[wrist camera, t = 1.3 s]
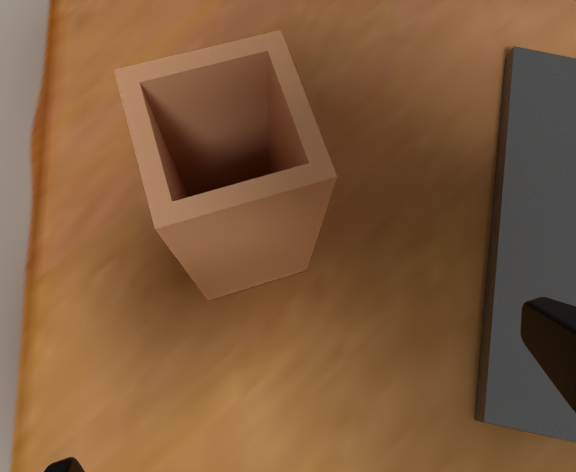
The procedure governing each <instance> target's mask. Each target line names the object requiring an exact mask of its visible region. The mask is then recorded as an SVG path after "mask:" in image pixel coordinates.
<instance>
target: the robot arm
mask: <svg viewBox="0 0 576 472" xmlns="http://www.w3.org/2000/svg"><path fill="white" fill-rule="evenodd" d="M520 333H521V338H522V341H523V343H524V344H525V346H526V347H527V349H528V350H529V351H530V353H531V354H532V355H533V357H534V358H535V360H536V361H537V362H538V364H539V365H540V366H541V368H542V369H543V370H544V372H545V373H546V375H547V376H548V377H549V379H550V380H551V381H552V383H553V384H554V386H555V387H556V388H557V390H558V391H559V392H560V394H561V395H562V396H563V398H564V399H565V400H566V402H567V403H568V404H569V406H570V407H571V408H572V409H573V410H574V412H575V413H576V306H573V305H570V304H567V303H563V302H560V301H557V300H554V299H551V298H547V297H538V298H535V299H532V300H529V301H526V302H525V303H524V304H523V306H522V312H521V329H520ZM44 472H85V471H84V470H83V468H82V467H81V465H80V464H79V462H78V461H77V459H75V458H74V457H69V458H66V459H63V460H60V461H57V462H54V463H52V464H50V465H49V466H48V467H47V468H46V469H45V471H44Z"/></svg>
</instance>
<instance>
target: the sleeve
mask: <svg viewBox="0 0 576 472" xmlns="http://www.w3.org/2000/svg"><path fill="white" fill-rule="evenodd" d="M114 72H115V76H116V80H117V84H118V88H119V92H120V95H121V99H122V103H123V107H124V111H125V115H126V119H127V123H128V127H129V131H130V134H131V138H132V142H133V146H134V150H135V154H136V158H137V162H138V166H139V170H140V173H141V177H142V181H143V185H144V189H145V193H146V197H147V201H148V205H149V209H150V212H151V216H152V220H153V224H154V228H155V230H156V231H157V233H158V234H159V235H160V237H161V238H162V239H163V241H164V242H165V244H166V245H167V246H168V248H169V249H170V250H171V252H172V253H173V254H174V256H175V257H176V258H177V260H178V261H179V262H180V264H181V265H182V266H183V268H184V269H185V270H186V272H187V273H188V275H189V276H190V277H191V279H192V280H193V281H194V283H195V284H196V285H197V287H198V288H199V289H200V291H201V292H202V293H203V295H204V296H205V297H206V299H207V300H208V301H209V300H213V299H216V298H219V297H222V296H225V295H229V294H232V293H235V292H238V291H242V290H245V289H248V288H251V287H254V286H258V285H261V284H264V283H267V282H271V281H274V280H277V279H280V278H283V277H287V276H290V275H293V274H296V273H299V272H303V271H306V270H307V269H308V266H309V263H310V259H311V256H312V253H313V250H314V247H315V244H316V241H317V238H318V235H319V232H320V229H321V225H322V222H323V219H324V216H325V213H326V210H327V207H328V204H329V201H330V198H331V195H332V191H333V188H334V185H335V182H336V179H337V174H336V172H335V169H334V166H333V164H332V161H331V159H330V156H329V154H328V151H327V148H326V146H325V143H324V141H323V138H322V135H321V133H320V130H319V128H318V125H317V122H316V120H315V117H314V115H313V112H312V109H311V107H310V104H309V102H308V99H307V96H306V94H305V91H304V89H303V86H302V83H301V81H300V78H299V76H298V73H297V70H296V68H295V65H294V63H293V60H292V57H291V55H290V52H289V50H288V47H287V44H286V42H285V39H284V37H283V34H282V31H281V30H277V31H273V32H269V33H265V34H261V35H257V36H253V37H248V38H244V39H240V40H236V41H232V42H228V43H224V44H220V45H215V46H211V47H207V48H203V49H199V50H195V51H191V52H187V53H182V54H178V55H174V56H170V57H166V58H162V59H158V60H154V61H149V62H145V63H141V64H137V65H133V66H129V67H125V68H120V69H116V70H114Z"/></svg>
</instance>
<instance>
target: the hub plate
mask: <svg viewBox="0 0 576 472" xmlns="http://www.w3.org/2000/svg"><path fill="white" fill-rule="evenodd" d="M538 297H547V298H551V299H554V300H557V301H560V302H563V303H567V304H570V305H573V306H576V59H575V58H570V57H565V56H560V55H555V54H550V53H545V52H540V51H535V50H530V49H525V48H520V47H515V46H514V47H513V49H512V50H511V51H510V53H509V54H508V56H507V57H506V60H505V72H504V84H503V95H502V107H501V119H500V130H499V142H498V154H497V165H496V177H495V188H494V200H493V212H492V223H491V235H490V247H489V258H488V270H487V282H486V293H485V305H484V317H483V328H482V340H481V351H480V363H479V375H478V386H477V398H476V410H475V420H476V421H481V422H485V423H490V424H494V425H499V426H503V427H508V428H512V429H517V430H521V431H526V432H530V433H535V434H539V435H544V436H548V437H553V438H557V439H562V440H566V441H571V442H575V443H576V413H575V412H574V410H573V409H572V408H571V407H570V406H569V404H568V403H567V402H566V400H565V399H564V398H563V396H562V395H561V394H560V392H559V391H558V390H557V388H556V387H555V386H554V384H553V383H552V381H551V380H550V379H549V377H548V376H547V375H546V373H545V372H544V370H543V369H542V368H541V366H540V365H539V364H538V362H537V361H536V360H535V358H534V357H533V355H532V354H531V353H530V351H529V350H528V349H527V347H526V346H525V344H524V343H523V341H522V338H521V333H520V329H521V312H522V306H523V304H524V303H525V302H526V301H529V300H532V299H535V298H538Z"/></svg>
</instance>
